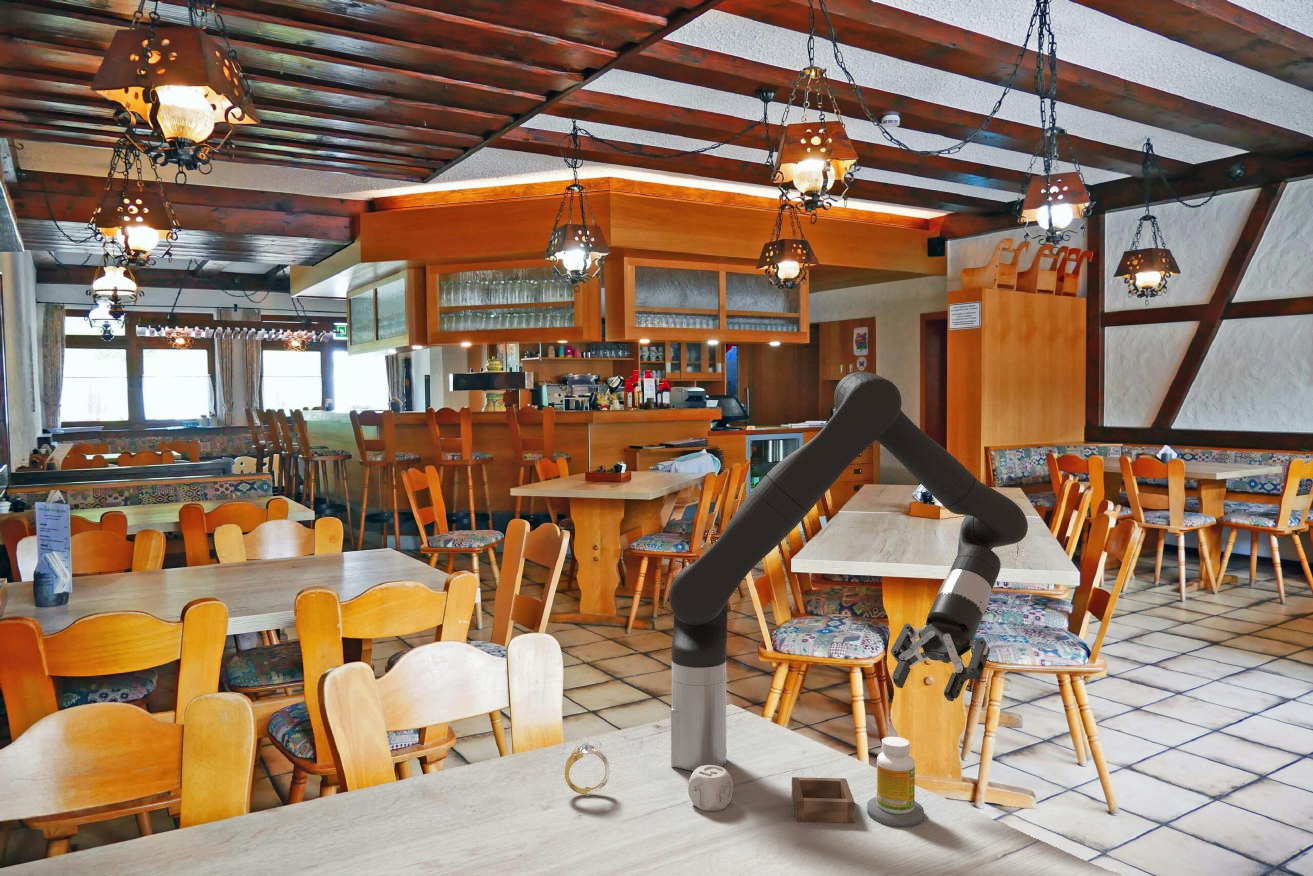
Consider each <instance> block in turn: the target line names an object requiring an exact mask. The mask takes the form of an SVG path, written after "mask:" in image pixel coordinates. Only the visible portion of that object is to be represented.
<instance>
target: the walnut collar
mask: <svg viewBox="0 0 1313 876" xmlns="http://www.w3.org/2000/svg"><path fill="white" fill-rule="evenodd" d="M851 791H852V790H851V789H850V786H849V783H848V781H847V778H844V777H843V778H842V777H840V778H839V777H806V776H805V777H803V776H802V777H798V776H796V777H794V776H793V777H791V799H792V805H793V809H794V814H795V818H796V822H810V823H811V822H813V823H814V822H815V823H817V822H818V823H849V824H850V823H851V824H853V823H855V821H856V820H855V812H856V811H855V808H856V807H855V800H854V796H853V794H852V792H851Z"/></svg>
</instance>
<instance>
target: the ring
mask: <svg viewBox="0 0 1313 876" xmlns="http://www.w3.org/2000/svg"><path fill="white" fill-rule="evenodd" d="M587 755H595V756H597V757H598V758H599V759H600V760H601V761H602V763H603V764H604V768H605V772H604V776H603V777H602V778H603V779H602V780H601V781H600V782H599V783H598V784H597V785H595V786H593V787H590V786H585V787H584V788H583V787H580V786H578V785H576V784H575V783H574V782H573V781H572V779H571V776H570V770H571V768H572V766H573V765H574V764H575V763H576V762H577V761H578V760H580V759H582V758H583V757H584V756H587ZM566 759H567V760H566V762H565V766H564V779H565V782H566V784H567V786H568V787H569V788H570V789H571V790H572V791H573V792H575V793H577V794H580V795H584V796H585V797H589V796H590V795H593V794H596V793H599V792H600V791H601V790H603V788H604V787H605V786H606V785H607V783H608V781H609V779H610V775H611V774H610V773H611V766H610V760H609V759H608V757H607V755H606V754H605V753H604V752H602V750H600V749H598V748H597V744H596V743H594V744H590V742H589V741H586V742H582V743H581V745H578V746H577V745H576V746H575V747H574V749H573V751H571V752H570V754H569V756H568V757H567V758H566Z"/></svg>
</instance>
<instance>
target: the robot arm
mask: <svg viewBox="0 0 1313 876" xmlns="http://www.w3.org/2000/svg"><path fill="white" fill-rule="evenodd" d="M833 394H834V395H833V401H834V407H835V412H834V414H833V415H832V416H831V417H830V419H829V420H828V421H827V423H826V424H825V425H824V426H823V427H822V428H821V430H820V431H819V432H818V433H817V434H816V435H815V436H814V437H812V439H810V440H809V441H807V442H805V444H803V445H802V446H800V447H798V448H797V449H796V450H794V451H793V452H790V454H789V455H787V456H785V457H784V458H782V459H781V460H780V461H779V462H778V463H777V464H776V465H774V466H773V467H772V468H771V469H770V470H769V471H768V472H767V473H766V475H764V477H762V479H761V480H760V481H759V482H758V483H757V484H756V486H755V487H754V488H753V489H752V490H751V492H750V493H749V494H748V495H747V497H745V499H744V501H743V502H742V503H741V505H740V506H739V508H738V509H737V510H736V512H735V513H734V515H733V516H732V518H731V519H730V521H729V522H728V524H727V525H726V527H725V529H724V530H723V532H722V533H721V535H720V536H719V537H718V539H716V541H715V542H714V543H713V544H712V545H711V546H710V548H708V549H707V550H706V551H705V552H704V553H703V554H702V555H701V556H700V557H699V558H698V559H697V560H696V561H694V563H690V564H688V565H686V566H684V567H683V568H682V569H680V571H679V572H678V573H677V575H676V576H675V578H674V580H673V581H672V584H671V585H670V588H669V589H670V590H669V597H668V598H669V599H668V600H669V605H670V606H669V607H670V608H671V611H672V613H673V630H672V639H671V651H670V652H671V706H670V707H671V708H670V767H672V768H680V769H682V770H686V771H692V772H694V770H695V769H696V768H698V767H700V766H704V765H716V766H720V767H723V766H725V765H726V763H727V752H728V751H727V648H728V647H727V643H728V602H729V600H730V598H731V597H732V595H733V594H734V592H735V591H736V590H737V588H738V587H739V586H740V584H741V583H742V581H744V579H745V578H746V577H747V576H748V574H749V573H750V572H751V571H752V570H753V569H754V568H755V566H757V565H758V564H759V563H760V562H762V560H764V558H766V557H767V556H768V555H769V554H770V553H771V552H772V551H773V550H774V549H776V548H777V546H778V545H779V544H781V542H783V540H785V539H786V538H787V537H788V535H789V534H790V533H791V532H792V531H793V530H795V528H796V527H797V526H798V525H799V524H800V523H801V522H802V521H803V519H804V518H806V516H807V515H808V514H809V512H811V511H812V509H813V508H814V507H815V506H816V504H817V503H818V502H819V501H820V500H821V498H822V497H823V496H824V495H825V494H826V493H827V492H828V490H829V489H830V488H831V487H832V486H833V485H834V484H835V483H836V481H837V480H838V479H839V478H840V476H841V475H842V474H843V472H845V470H846V469H847V468H848V467H849V466H850V465H852V463H853V462H854V461H855V460H856V459H857V458H858V457H859V456H860V455H861V454H862V453H863V452H864V451H865V450H867V449H868V448H869V447H870V446H871V445H872V444H873V443H875V442H878V443H879V444H880V445H881V446H882V447H883V448H885V449H886V450H887V451H888V452H889V453H890V454H891V455H892V456H894V458H895V459H896V460H897V461H898V462H899V463H900V464H901V465H902V466H903V467H904V468H905V469H906V470H907V471H908V472H909V473H910V474H911V475H912V477H914V478H915V479H916V480H917V481H918V482H919V483H920V484H921V486H922V487H923V488H924V489H926V490H927V492H928V493H929V494H930V495H932V497H933V498H935V499H936V500H937V501H938V502H939V503H940V504H941V505H942V506H943V507H944V508H945V509H946V510H947V511H949V512H950V513H952V514H954V515H963V516H964V515H965V517H964V519H963V521H961V524H960V525H961V526H960V530H959V538H958V547H957V555H956V557H955V558H954V561H953V563H952V565H951V568H950V571H949V572H948V574H947V576H946V577H945V579H944V580H943V582H942V584H941V585H940V587H939V590H938V591H937V594H936V597H935V599H934V601H933V604H932V605H931V607H930V609H929V612H928V614H927V617H926V623H925V624H924V626H923V627H921V628H919V629H918V628H915V627H912V625H911V624H910V623H905V624H904V625H903V627H902V629H901V631H900V633H899V634H898V636H897V638H896V640H895V641H894V643H893V645H892V647H891V649H890V654H891V655H892V656H893V658H894V660H895V662H897V664H896V666H895V669H894V671H893V673H892V675H891V679H892V681H893V684H894V685H895V687H896V688H899V689H903V687H904V685H905V683H906V681H907V680H908V677H909V674H910V672H911V671H912V669H911V668H912V667H913V666H915V665H917V664H918V663H923V662H925V661H926V660H928V659H929V660H930V661H940V662H942V663H944V664H950V663H952V666H953V669H954V671H955V672H951V674H950V676H949V679H948V681H947V684H946V685H945V688H944V691H943V696H944V697H945V699H946V700H947V701H948V702H952V703H953V702H954V700H957V699H958V698H959V697H960V694H961V692H962V689H963V687H964V685H965V682H967V681H968V680H974V681H976V682H977V681H980V680H981V678H982V675H983V673H984V669H985V667H986V663H987V661H988V658H989V654H990V651H991V648H990V647H989V645H988V643H987V641H986V640H985V638H984V637H979V638H977V640H976V639H975V640H974V638H975V636H976V633H977V631H978V629H979V626H980V624H981V621H982V619H983V617H984V614H985V612H986V611H987V607H988V605H989V601H990V598H991V597H990V596H991V593H992V591H993V589H994V586H995V584H996V582H997V579H998V577H999V574H1000V571H1001V568H1002V567H1001V566H1002V562H1001V560H1000V558H999V556H998V555H997V554H996V552H994V551H993V548H994V549H995V548H999V547H1004V546H1010V545H1014V544H1017V543H1019V542H1021V541H1022V540H1023V539H1024V538H1025V537H1026V535H1027V533H1028V530H1029V525H1028V519H1027V517H1026V515H1025V513H1024V511H1023V510H1022V508H1021V507H1020V506H1019V505H1018V504H1017V503H1016V502H1015V501H1013V499H1011V498H1009V497H1007V496H1006V495H1004V494H1002V493H1001V492H999V491H997V490H996V489H994V488H992V487H991V486H989V485H987V484H984V483H983V482H981V481H979V480H978V479H977V477H976V476H974V474H973V473H971V472H970V470H968V468H966V467H965V466H964V465H963V463H961V462H960V461H959V460H958V459H957V458H956V457H955V456H954V455H952V454H951V453H950V452H949V451H948V450H947V449H946V448H944V447H943V446H941V445H940V444H939V443H938V442H937V441H935V440H934V439H933V438H932V437H930V436H929V435H928V434H927V433H925V432H924V431H923V430H922V429H921V428H919V427H918V425H916V424H915V423H914V422H913V421H912V420H911V419H910V418H909V417H908V416H907V415H906V414H905V413H904V411H902V395H901V391H900V390H899V388H898V387H897V386H896V384H895V383H894V382H892V381H890V380H889V379H887V378H886V377H883V376H881V375H878V374H875V373H873V372H869V371H855V372H852V373H849V374H847V375H846V376H844V377H843V378H842V379H840V380H839V382H838V383H837V385H836V388H835V390H834V392H833ZM921 649H922V652H920V650H921ZM970 650H971V651H972V653H971V656H970V660H969V662H968V666H965V663H964V660H963V658H962V656H963V655H964V654H966V653H967V652H969V651H970Z"/></svg>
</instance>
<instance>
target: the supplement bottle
mask: <svg viewBox="0 0 1313 876" xmlns="http://www.w3.org/2000/svg"><path fill="white" fill-rule="evenodd" d="M881 750H882V751H881V752H880V753H879V754H878V755H877V757H876V797H877V805H878V807H879V808H881V809H882V810H884V811H886V812H889V813H894V814H906V813H909V812H911V811H913V809H914V805H915V802H916V801H915V799H916V798H915V797H916V795H915V792H916V791H915V787H916V780H915V779H916V776H915V773H916V771H915V770H916V763H915V759H914V758H913V756H912V755H910V753H911V743H910V741H909V740H908V739H905V738H903V737H900V736H887V737H884V738H882V739H881Z"/></svg>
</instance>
